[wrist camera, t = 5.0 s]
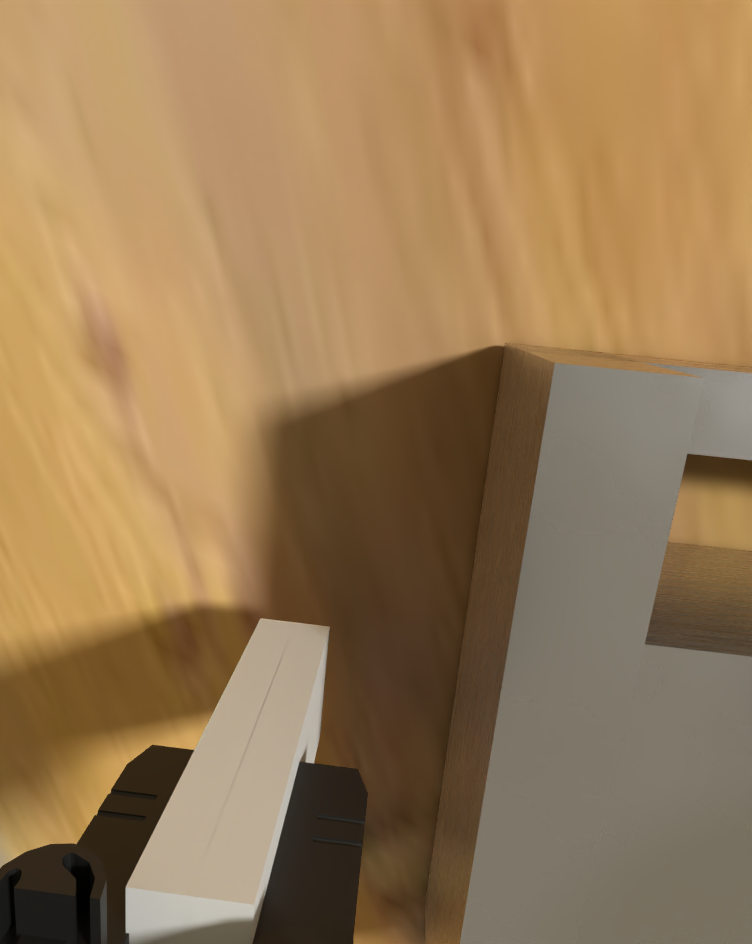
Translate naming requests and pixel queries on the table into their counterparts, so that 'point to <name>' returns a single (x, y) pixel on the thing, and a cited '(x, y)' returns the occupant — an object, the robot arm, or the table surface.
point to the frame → (600, 670)
